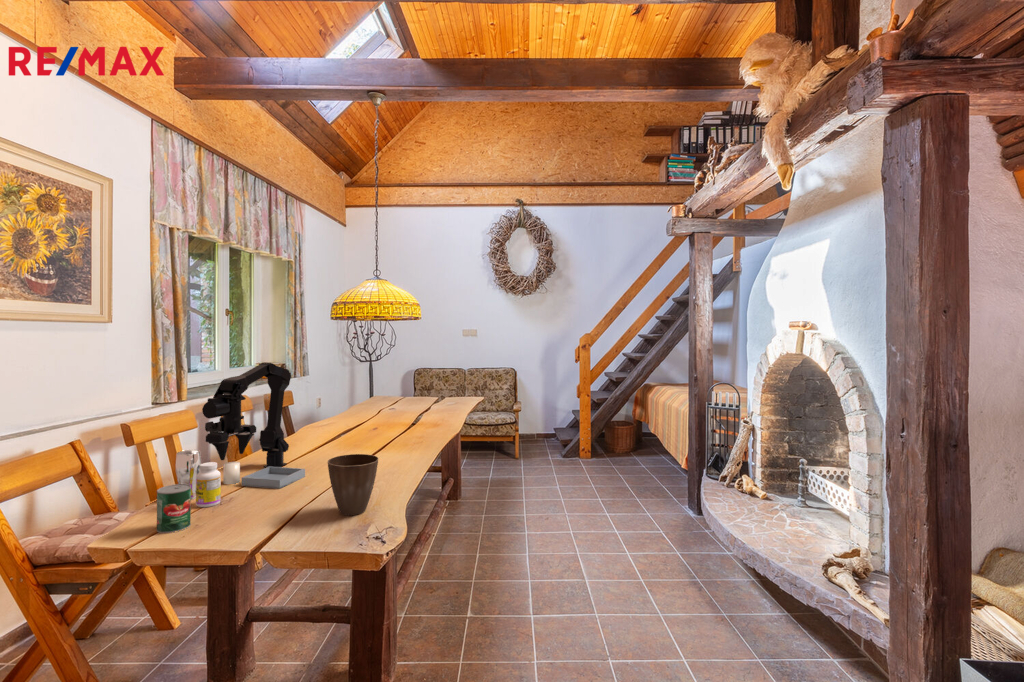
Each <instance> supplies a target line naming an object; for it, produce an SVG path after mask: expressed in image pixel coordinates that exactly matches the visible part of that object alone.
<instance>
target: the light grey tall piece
mask: <svg viewBox="0 0 1024 682" xmlns="http://www.w3.org/2000/svg"><path fill="white" fill-rule="evenodd" d="M201 454H202V453H201V450H200V449H188V450H187V449H186V450H181V451H178V452H176V455H175V456H176V457H175V474H176V475H175V476H176V479H177V484H188V485H191V499H192V500H196V499H195V498H196V476H197V474H198V473H199V472H201V470H200V464H202V456H201Z"/></svg>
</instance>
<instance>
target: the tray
mask: <svg viewBox="0 0 1024 682" xmlns="http://www.w3.org/2000/svg"><path fill="white" fill-rule="evenodd" d="M305 477H306V469H305V468H302V467H301V468H300V467H299V468H298V467H285V466H282V467H271V466H269V467H267V468H265V467H263V468H262V469H259V470H256V471H254V472H252V473H250V474H247V475H244V476H241V487H249V488H250V487H251V488H265V489H277V490H280V489H283V488H284V487H287V486H288V485H291V484H293V483H295V482H298V481H299V480H301V479H303V478H305Z"/></svg>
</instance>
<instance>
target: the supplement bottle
mask: <svg viewBox="0 0 1024 682" xmlns="http://www.w3.org/2000/svg"><path fill="white" fill-rule="evenodd" d="M221 475H222V473H221V472H220V471H219V470H218V462H215V461H210V462H204V463H201V464H200V472H199V473H198V474H197V476H196V499H195V505H196V507H199V508H210V507H214V506H217V505H218V504H220V503H221V500H222V499H221V497H222V496H221V488H222V487H221V486H222V485H221V482H222V481H221V480H222V479H221V478H222V477H221Z"/></svg>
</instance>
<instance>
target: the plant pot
mask: <svg viewBox="0 0 1024 682" xmlns="http://www.w3.org/2000/svg"><path fill="white" fill-rule="evenodd" d="M378 465H379V457H378V456H376V455H373V454H367V453H365V454H364V453H361V454H360V453H353V454H343V455H338V456H335V457H331V458H330V459H328V460H327V469H328V475H329V481H330V486H331V490H332V493H333V497H334V499H335V502H336V505H337V509H338V510H339V513H340V514H341V515H342V516H357V515H361V514H363V513H365V512H366V510H367V507H368V504H369V501H370V499H371V495H372V493H373V489H374V484H375V482H376V476H377V472H378V471H377V470H378Z"/></svg>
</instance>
